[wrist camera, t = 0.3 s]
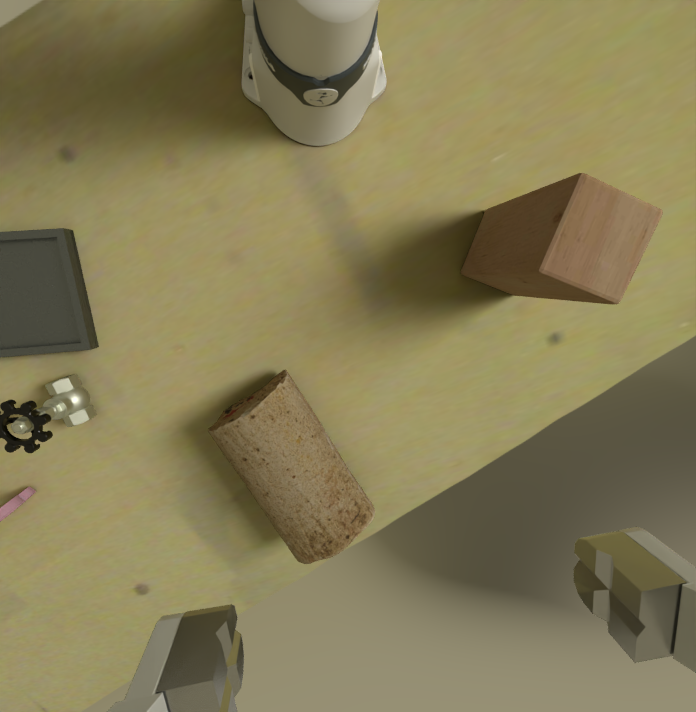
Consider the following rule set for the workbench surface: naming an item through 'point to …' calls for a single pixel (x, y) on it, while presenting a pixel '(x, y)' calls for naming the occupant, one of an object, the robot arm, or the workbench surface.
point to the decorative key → (15, 502)
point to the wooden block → (563, 242)
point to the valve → (46, 413)
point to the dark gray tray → (43, 294)
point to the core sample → (293, 470)
